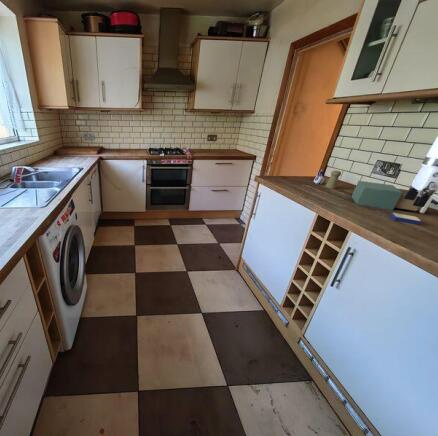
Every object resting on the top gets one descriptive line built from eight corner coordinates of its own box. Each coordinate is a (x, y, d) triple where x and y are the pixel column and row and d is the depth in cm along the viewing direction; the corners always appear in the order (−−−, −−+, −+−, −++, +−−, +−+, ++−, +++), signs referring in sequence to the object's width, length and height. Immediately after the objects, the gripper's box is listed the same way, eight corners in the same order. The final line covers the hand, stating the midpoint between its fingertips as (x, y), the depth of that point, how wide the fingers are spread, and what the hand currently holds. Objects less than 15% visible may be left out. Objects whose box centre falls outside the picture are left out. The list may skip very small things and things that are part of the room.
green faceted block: (384, 201, 128) (392, 185, 123) (392, 210, 116) (402, 192, 112) (351, 196, 134) (358, 180, 130) (356, 204, 123) (364, 187, 119)
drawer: (424, 206, 120) (432, 192, 116) (436, 215, 109) (446, 200, 106) (379, 199, 128) (386, 186, 124) (387, 207, 117) (394, 192, 114)
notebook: (412, 223, 103) (416, 216, 101) (417, 227, 98) (421, 221, 97) (388, 218, 106) (392, 212, 105) (392, 223, 102) (396, 216, 100)
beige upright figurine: (337, 189, 147) (344, 172, 142) (326, 187, 149) (332, 171, 144) (334, 186, 152) (341, 170, 147) (324, 185, 154) (330, 169, 149)
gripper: (463, 168, 82) (435, 211, 90) (439, 161, 96) (416, 199, 103) (433, 165, 85) (408, 207, 93) (415, 158, 99) (394, 195, 106)
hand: (413, 202), depth 98 cm, fingers open, 9 cm apart
